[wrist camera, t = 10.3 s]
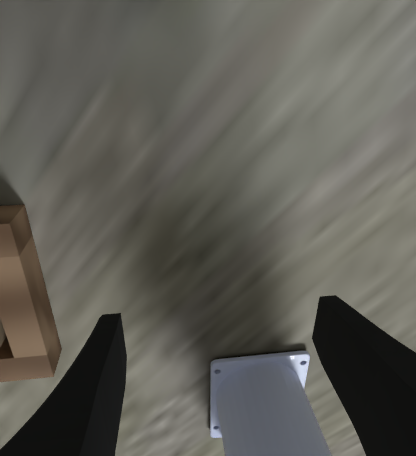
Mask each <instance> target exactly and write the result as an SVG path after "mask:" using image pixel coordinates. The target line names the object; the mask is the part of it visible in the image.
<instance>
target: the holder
mask: <svg viewBox="0 0 416 456" xmlns="http://www.w3.org/2000/svg"><path fill="white" fill-rule="evenodd" d="M0 319H1V322H2V324H3V327H4V330H5V333H6V337H5V339H4V341H3V343H2V345H1V347H0V382H6V381H16V380H26V379H36V378H46V377H54V373H55V370H56V367H57V363H58V360H59V357H60V353H61V350H62V348H61V345H60V341H59V337H58V333H57V329H56V325H55V321H54V317H53V313H52V310H51V306H50V302H49V298H48V294H47V290H46V286H45V282H44V278H43V275H42V271H41V267H40V263H39V259H38V255H37V251H36V247H35V243H34V240H33V236H32V232H31V228H30V224H29V220H28V216H27V212H26V208H25V205H5V206H0Z"/></svg>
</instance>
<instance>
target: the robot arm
mask: <svg viewBox="0 0 416 456" xmlns="http://www.w3.org/2000/svg"><path fill="white" fill-rule="evenodd" d="M312 339H313V342H314V345H315V348H316V351H317V353H318V356H319V359H320V361H321V364H322V366H323V368H324V370H325V372H326V374H327V376H328V378H329V379H330V381H331V383H332V385H333V387H334V389H335V391H336V393H337V395H338V397H339V399H340V400H341V402H342V404H343V406H344V408H345V410H346V412H347V414H348V416H349V418H350V419H351V421H352V424H353V426H354V428H355V430H356V432H357V434H358V436H359V439H360V441H361V444H362V446H363V449H364V451H365V454H366V456H416V353H415V352H414V351H412V350H411V349H409V348H408V347H406V346H405V345H403V344H402V343H400V342H398V341H397V340H396V339H394V338H393V337H391V336H390V335H388V334H387V333H386V332H384V331H383V330H381V329H380V328H379V327H377V326H376V325H375V324H373V323H372V322H370V321H369V320H368V319H366V318H365V317H364V316H363V315H361V314H360V313H359V312H357V311H356V310H355V309H353V308H352V307H351V306H349V305H348V304H347V303H345V302H344V301H343V300H341V299H340V298H339V297H337V296H336V295H335V296H323V297H320V298H319V303H318V309H317V314H316V320H315V325H314V331H313V336H312ZM309 360H310V355H309V353H308V352H307V351H294V352H284V353H274V354H264V355H254V356H244V357H234V358H224V359H216V360H213V361H212V362H211V374H210V435H211V437H213V438H219V437H222V440H223V446H224V452H225V456H332V455H331V452H330V450H329V447H328V445H327V443H326V440H325V438H324V436H323V433H322V431H321V428H320V426H319V424H318V421H317V419H316V417H315V414H314V412H313V409H312V407H311V405H310V402H309V400H308V398H307V395H306V393H305V390H304V386H305V381H306V376H307V370H308V365H309ZM126 361H127V354H126V348H125V341H124V334H123V327H122V320H121V313H117V314H105V315H102V316H101V317H100V318H99V320H98V322H97V324H96V326H95V328H94V330H93V331H92V333H91V335H90V337H89V338H88V340H87V342H86V343H85V345H84V347H83V348H82V350H81V351H80V353H79V355H78V356H77V358H76V359H75V361H74V362H73V364H72V365H71V367H70V368H69V370H68V371H67V372H66V374H65V375H64V377H63V378H62V379H61V381H60V382H59V384H58V385H57V386H56V388H55V389H54V390H53V392H52V393H51V394H50V395H49V397H48V398H47V399H46V400H45V402H44V403H43V404H42V405H41V406H40V408H39V409H38V410H37V411H36V412H35V413H34V415H33V416H32V417H31V418H30V419H29V420H28V421H27V422H26V423H25V424H24V426H23V427H22V428H21V429H20V430H19V431H18V432H17V433H16V434H15V435H14V436H13V437H12V438H11V439H10V440H9V441H8V442H7V443H6V444H5V445H4V446H3V447H2V448H1V449H0V456H115V449H116V443H117V436H118V430H119V424H120V417H121V411H122V404H123V398H124V391H125V384H126ZM217 369H218V370H217Z"/></svg>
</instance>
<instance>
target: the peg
mask: <svg viewBox="0 0 416 456" xmlns="http://www.w3.org/2000/svg"><path fill="white" fill-rule="evenodd" d="M5 337H6V333H5V330H4V327H3V324H2V322H1V319H0V347H1V345H2V343H3V341H4V339H5Z"/></svg>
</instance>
